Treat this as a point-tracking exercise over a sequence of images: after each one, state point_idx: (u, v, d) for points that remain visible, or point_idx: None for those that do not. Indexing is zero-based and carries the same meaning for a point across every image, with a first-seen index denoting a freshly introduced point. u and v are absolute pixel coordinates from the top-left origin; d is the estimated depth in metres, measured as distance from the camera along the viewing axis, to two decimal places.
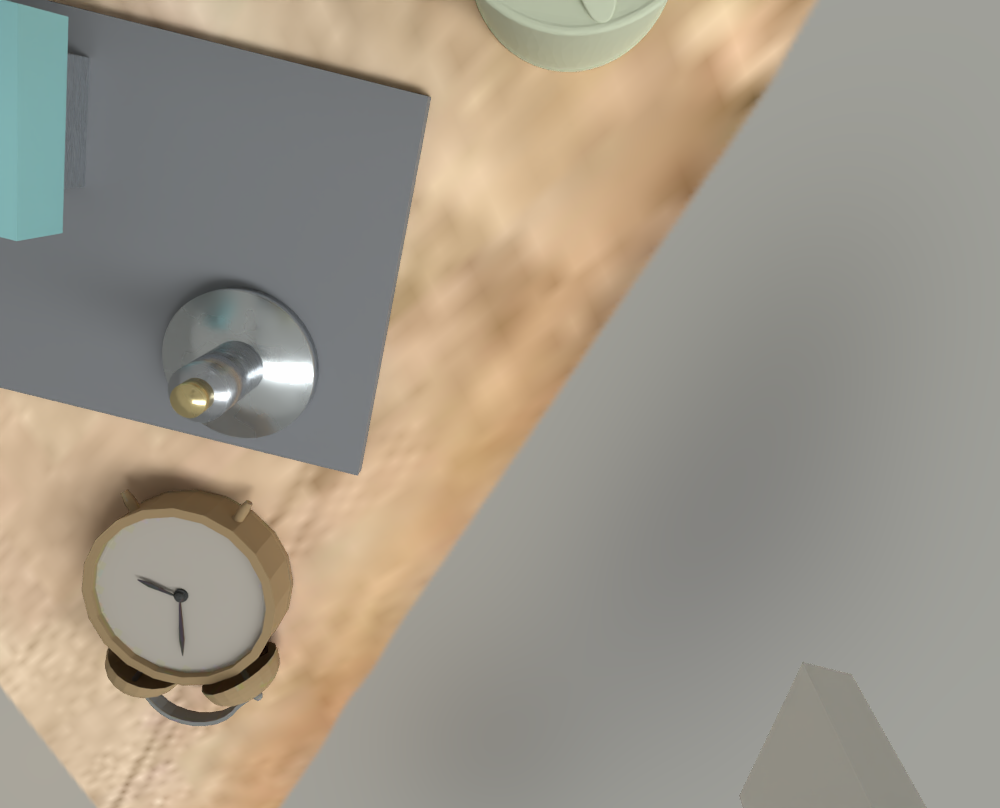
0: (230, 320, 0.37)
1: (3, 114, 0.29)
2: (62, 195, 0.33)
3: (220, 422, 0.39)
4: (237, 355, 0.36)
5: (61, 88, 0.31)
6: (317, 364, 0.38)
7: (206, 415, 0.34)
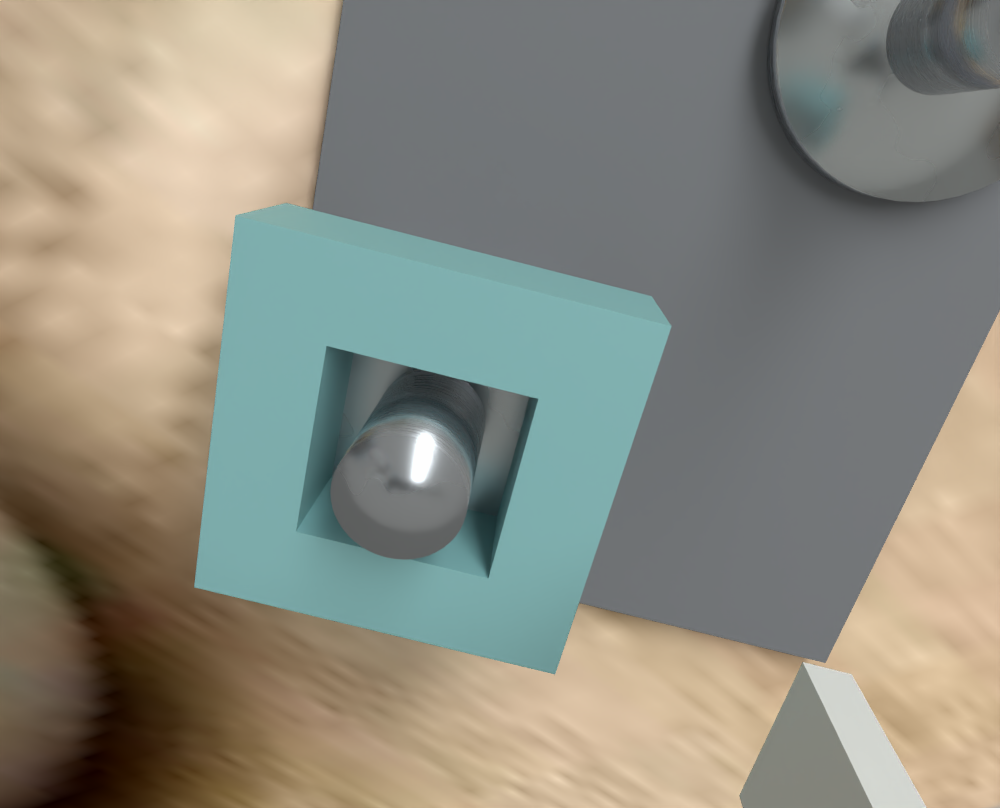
0: (842, 36, 0.18)
1: (430, 293, 0.15)
2: (583, 279, 0.17)
3: None
4: None
5: (398, 234, 0.17)
6: None
7: None
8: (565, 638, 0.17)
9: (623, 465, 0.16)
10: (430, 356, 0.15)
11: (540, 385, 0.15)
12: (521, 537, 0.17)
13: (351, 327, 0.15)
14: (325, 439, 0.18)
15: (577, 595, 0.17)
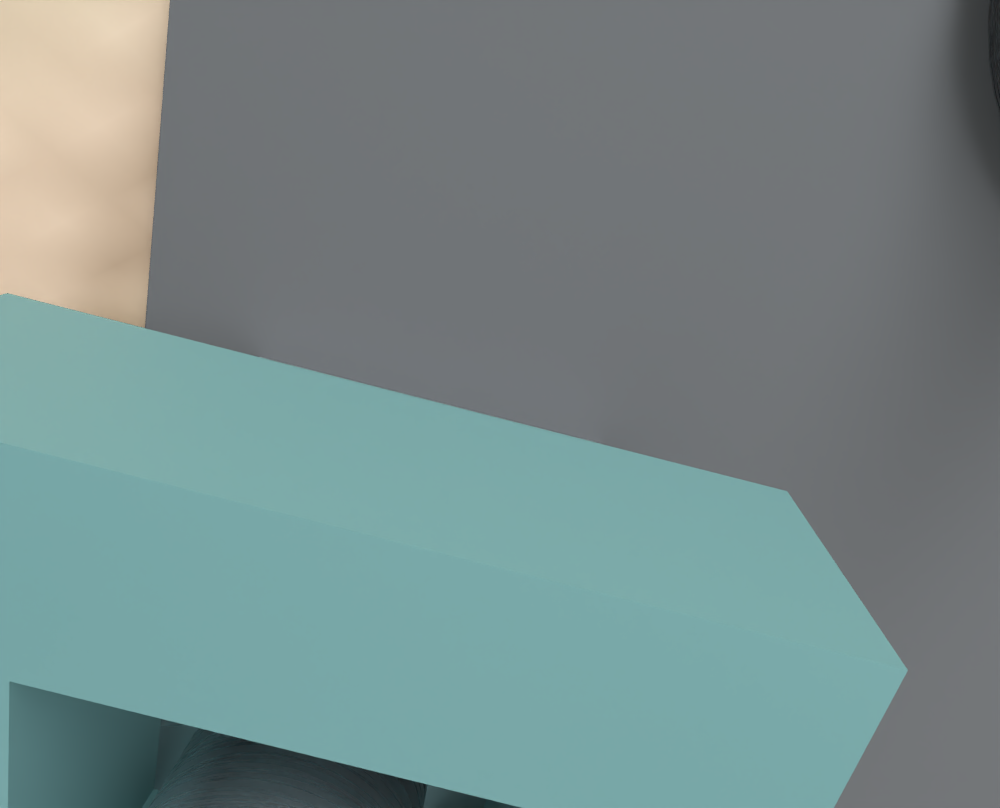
0: None
1: (256, 572, 0.06)
2: (642, 457, 0.08)
3: None
4: None
5: (242, 363, 0.08)
6: None
7: None
8: None
9: None
10: (269, 714, 0.06)
11: (550, 786, 0.06)
12: None
13: (65, 643, 0.06)
14: (96, 787, 0.08)
15: None
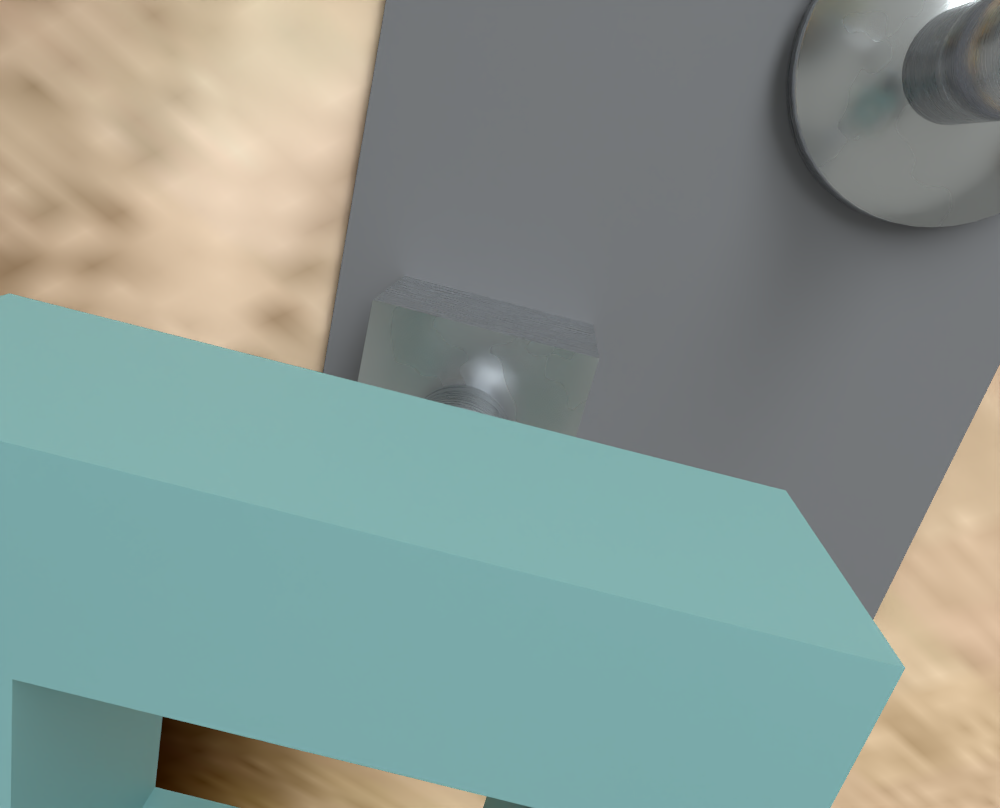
0: (860, 69, 0.19)
1: (258, 571, 0.06)
2: (641, 456, 0.08)
3: None
4: (955, 16, 0.17)
5: (243, 364, 0.08)
6: None
7: None
8: None
9: None
10: (270, 711, 0.06)
11: (549, 782, 0.06)
12: None
13: (67, 641, 0.06)
14: (97, 785, 0.08)
15: None
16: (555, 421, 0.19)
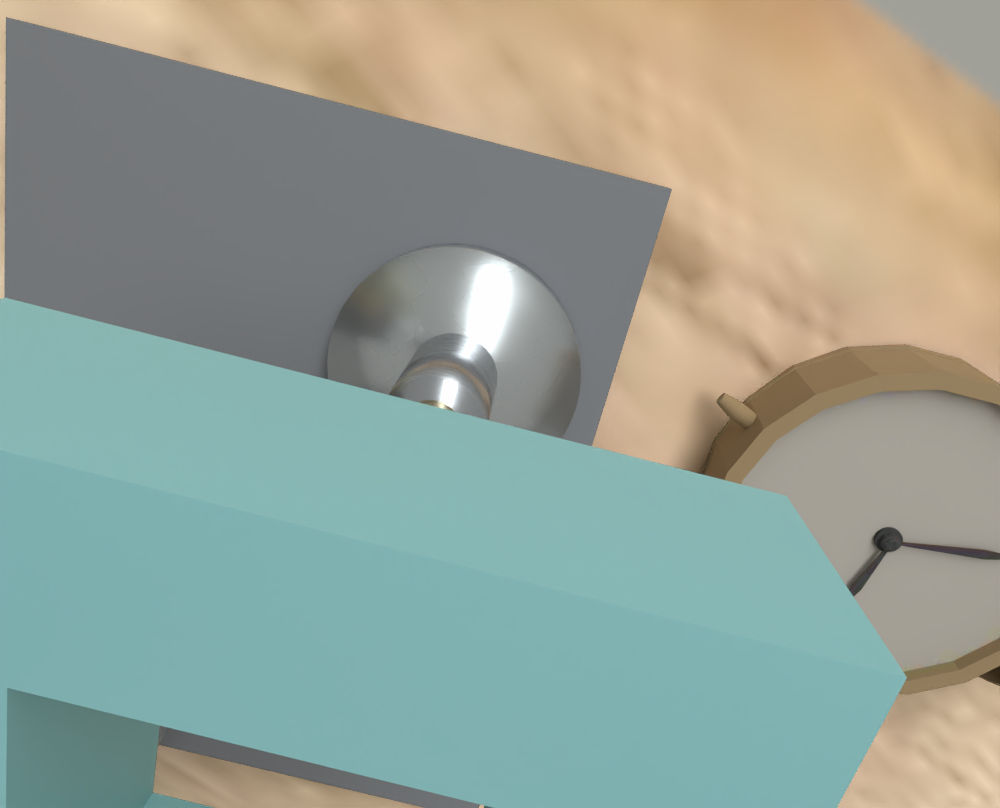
0: (376, 376, 0.23)
1: (254, 579, 0.06)
2: (641, 461, 0.08)
3: (551, 418, 0.23)
4: (407, 365, 0.21)
5: (240, 368, 0.08)
6: (454, 244, 0.22)
7: None
8: None
9: None
10: (267, 720, 0.06)
11: (548, 792, 0.06)
12: None
13: (62, 650, 0.06)
14: (94, 791, 0.08)
15: None
16: None
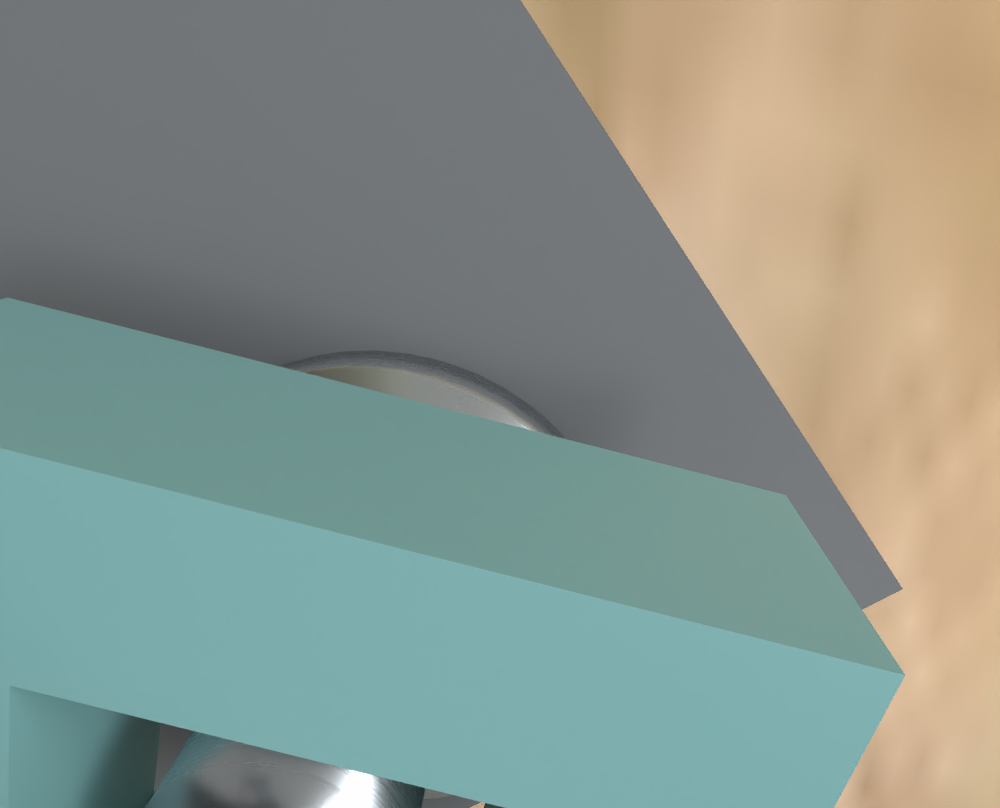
0: None
1: (255, 578, 0.06)
2: (640, 461, 0.08)
3: None
4: None
5: (241, 368, 0.08)
6: (540, 418, 0.11)
7: None
8: None
9: None
10: (269, 718, 0.06)
11: (548, 790, 0.06)
12: None
13: (65, 648, 0.06)
14: (96, 790, 0.08)
15: None
16: None
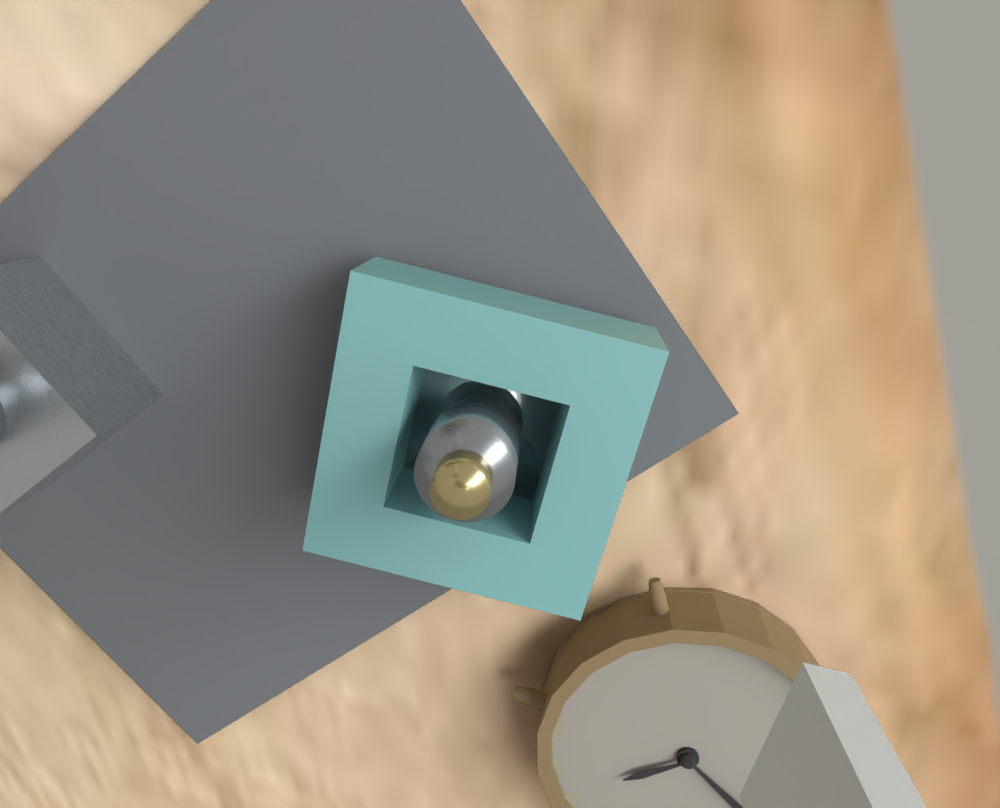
0: None
1: (490, 327, 0.20)
2: (603, 314, 0.23)
3: None
4: (465, 397, 0.22)
5: (462, 280, 0.22)
6: None
7: (499, 493, 0.20)
8: (588, 591, 0.23)
9: (633, 456, 0.21)
10: (490, 373, 0.21)
11: (571, 395, 0.21)
12: (555, 511, 0.22)
13: (431, 352, 0.21)
14: (403, 437, 0.23)
15: (598, 557, 0.22)
16: (40, 453, 0.23)
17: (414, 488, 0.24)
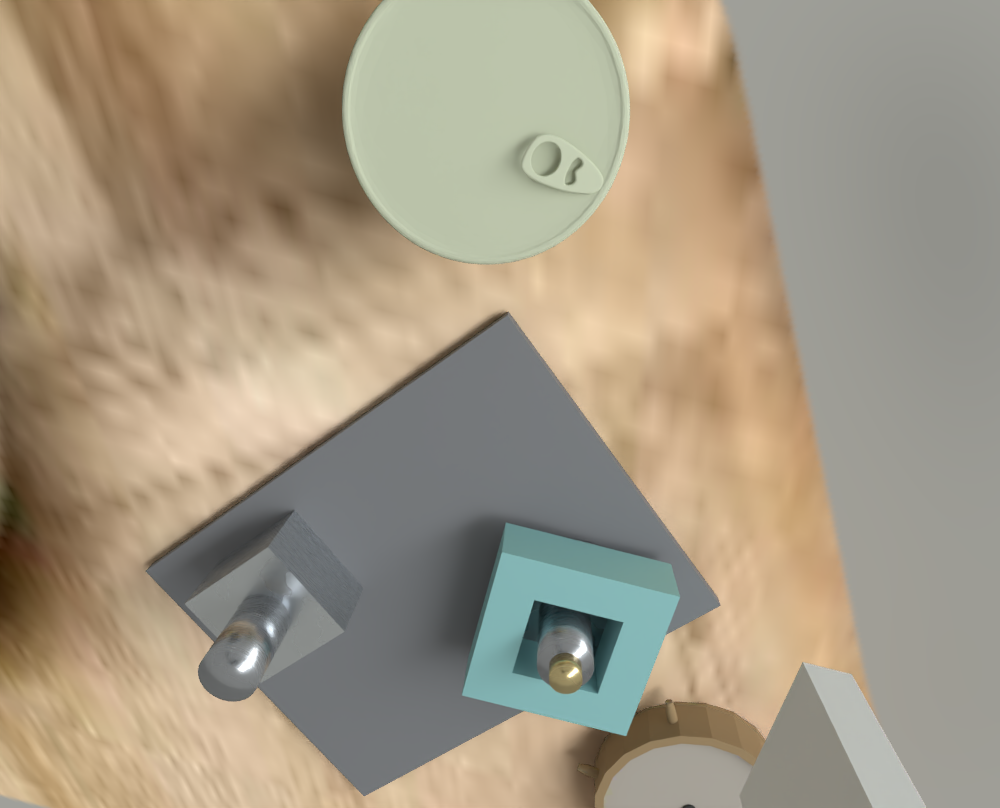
0: None
1: (580, 582, 0.36)
2: (639, 557, 0.38)
3: None
4: (560, 608, 0.38)
5: (557, 538, 0.38)
6: None
7: (585, 675, 0.36)
8: (631, 720, 0.38)
9: (659, 648, 0.37)
10: (578, 605, 0.36)
11: (624, 617, 0.36)
12: (613, 677, 0.38)
13: (545, 593, 0.36)
14: None
15: (637, 701, 0.38)
16: (308, 640, 0.38)
17: (525, 655, 0.40)
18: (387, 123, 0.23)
